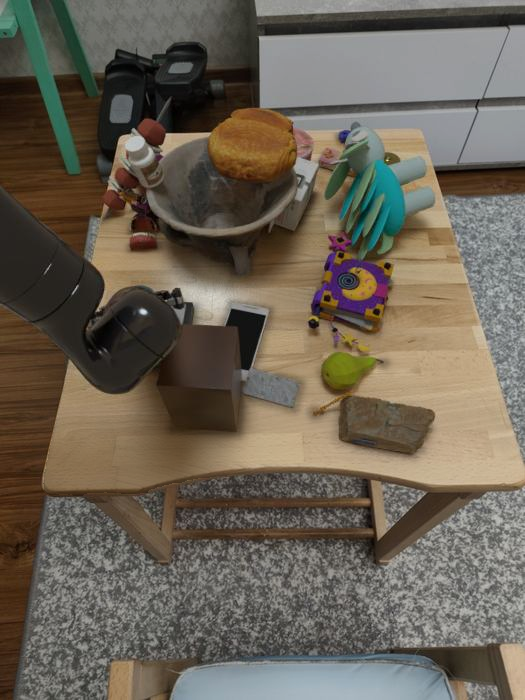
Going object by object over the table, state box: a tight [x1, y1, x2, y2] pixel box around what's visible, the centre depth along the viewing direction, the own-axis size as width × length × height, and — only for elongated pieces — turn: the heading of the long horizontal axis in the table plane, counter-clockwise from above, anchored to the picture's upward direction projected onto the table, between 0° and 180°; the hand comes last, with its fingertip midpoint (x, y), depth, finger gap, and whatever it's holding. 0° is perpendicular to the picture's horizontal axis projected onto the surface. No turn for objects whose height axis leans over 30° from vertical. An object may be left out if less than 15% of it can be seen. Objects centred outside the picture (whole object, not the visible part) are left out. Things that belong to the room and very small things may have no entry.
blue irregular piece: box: [337, 129, 351, 144], centre depth 112 cm, size 9×5×3 cm, turn 40°
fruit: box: [321, 351, 385, 390], centre depth 79 cm, size 6×6×12 cm
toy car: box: [119, 188, 159, 223], centre depth 95 cm, size 6×12×5 cm
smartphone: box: [223, 301, 270, 383], centre depth 84 cm, size 7×16×1 cm, turn 166°
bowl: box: [145, 136, 298, 278], centre depth 90 cm, size 27×26×15 cm
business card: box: [240, 367, 301, 408], centre depth 79 cm, size 9×5×1 cm, turn 74°
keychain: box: [312, 390, 355, 416], centre depth 75 cm, size 8×1×1 cm
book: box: [307, 231, 396, 352], centre depth 84 cm, size 14×25×12 cm, turn 162°
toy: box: [317, 147, 357, 178], centre depth 107 cm, size 12×2×5 cm
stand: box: [155, 323, 243, 432], centre depth 72 cm, size 10×10×15 cm
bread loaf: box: [207, 107, 297, 183], centre depth 82 cm, size 14×16×8 cm
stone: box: [338, 394, 436, 455], centre depth 73 cm, size 14×7×5 cm, turn 78°
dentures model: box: [128, 213, 160, 250], centre depth 95 cm, size 6×4×8 cm
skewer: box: [101, 96, 172, 221], centre depth 95 cm, size 5×5×30 cm
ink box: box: [267, 157, 320, 234], centre depth 97 cm, size 9×5×15 cm
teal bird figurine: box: [324, 121, 436, 261], centre depth 91 cm, size 14×26×18 cm
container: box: [293, 127, 315, 161], centre depth 103 cm, size 10×10×8 cm
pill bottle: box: [124, 136, 164, 188], centre depth 80 cm, size 4×4×8 cm
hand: (137, 303), depth 77 cm, fingers open, 8 cm apart
